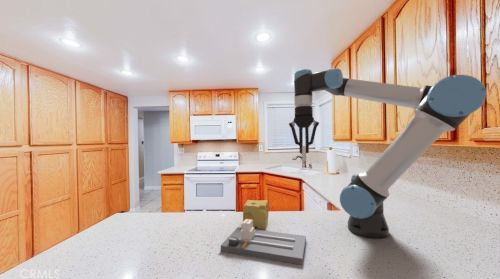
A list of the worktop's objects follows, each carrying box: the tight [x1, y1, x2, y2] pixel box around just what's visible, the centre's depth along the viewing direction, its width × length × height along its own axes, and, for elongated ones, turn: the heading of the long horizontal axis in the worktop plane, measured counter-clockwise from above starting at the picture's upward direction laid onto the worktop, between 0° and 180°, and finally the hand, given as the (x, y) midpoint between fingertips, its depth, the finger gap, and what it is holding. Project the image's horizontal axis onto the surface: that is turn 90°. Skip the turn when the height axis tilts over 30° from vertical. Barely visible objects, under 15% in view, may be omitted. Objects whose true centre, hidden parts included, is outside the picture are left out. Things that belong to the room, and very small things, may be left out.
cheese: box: [242, 199, 269, 230], centre depth 97 cm, size 10×11×10 cm
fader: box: [241, 219, 255, 240], centre depth 80 cm, size 4×4×6 cm
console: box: [220, 226, 307, 266], centre depth 77 cm, size 28×16×4 cm, turn 71°
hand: (304, 160), depth 92 cm, fingers closed
